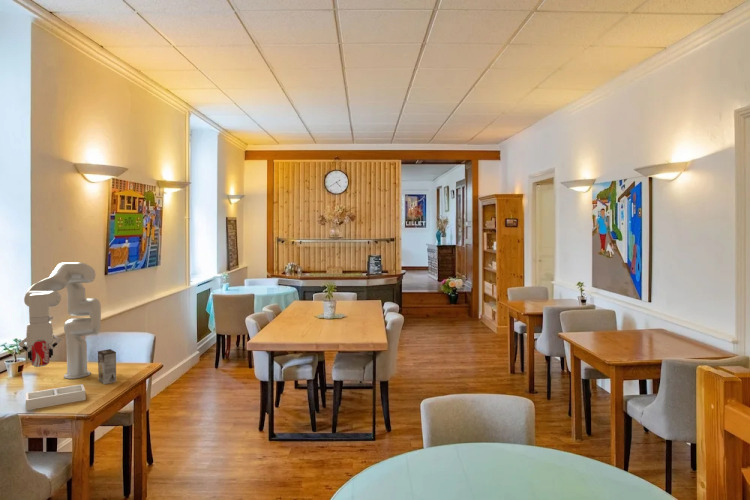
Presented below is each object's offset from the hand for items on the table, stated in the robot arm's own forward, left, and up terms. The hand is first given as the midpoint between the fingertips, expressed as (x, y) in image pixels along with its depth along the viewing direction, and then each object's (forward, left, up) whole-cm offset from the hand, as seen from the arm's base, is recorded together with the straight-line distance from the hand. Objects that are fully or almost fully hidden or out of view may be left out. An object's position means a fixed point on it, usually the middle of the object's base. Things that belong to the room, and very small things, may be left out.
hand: (40, 358), depth 227 cm
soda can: (0, 0, -3) cm, 3 cm away
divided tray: (0, +5, -21) cm, 22 cm away
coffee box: (-20, +29, -21) cm, 42 cm away
